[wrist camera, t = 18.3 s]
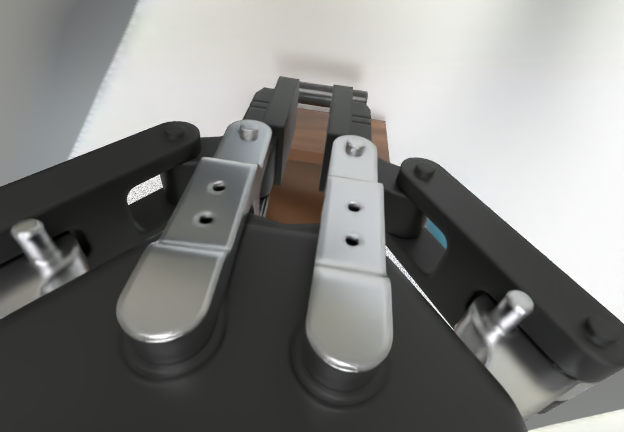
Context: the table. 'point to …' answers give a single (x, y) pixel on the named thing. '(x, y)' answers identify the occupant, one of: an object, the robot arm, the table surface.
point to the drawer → (312, 158)
